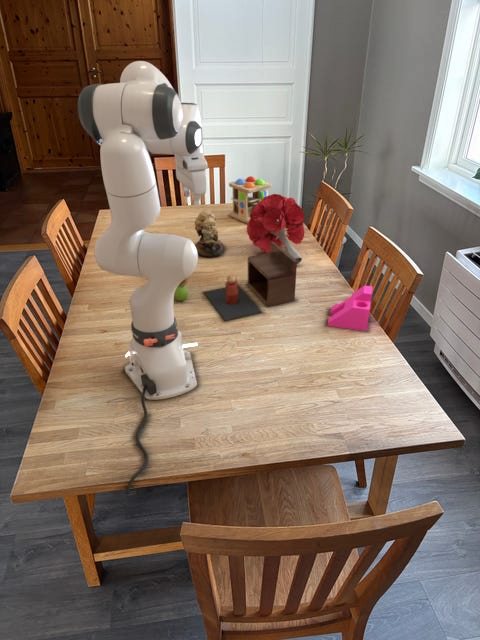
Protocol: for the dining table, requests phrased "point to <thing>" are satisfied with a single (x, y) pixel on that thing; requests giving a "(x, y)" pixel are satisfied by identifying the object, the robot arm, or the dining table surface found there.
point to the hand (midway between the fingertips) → (191, 200)
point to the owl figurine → (208, 235)
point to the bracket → (353, 310)
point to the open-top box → (273, 276)
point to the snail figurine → (181, 291)
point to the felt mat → (232, 310)
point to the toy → (231, 289)
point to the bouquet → (277, 224)
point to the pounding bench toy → (240, 196)
